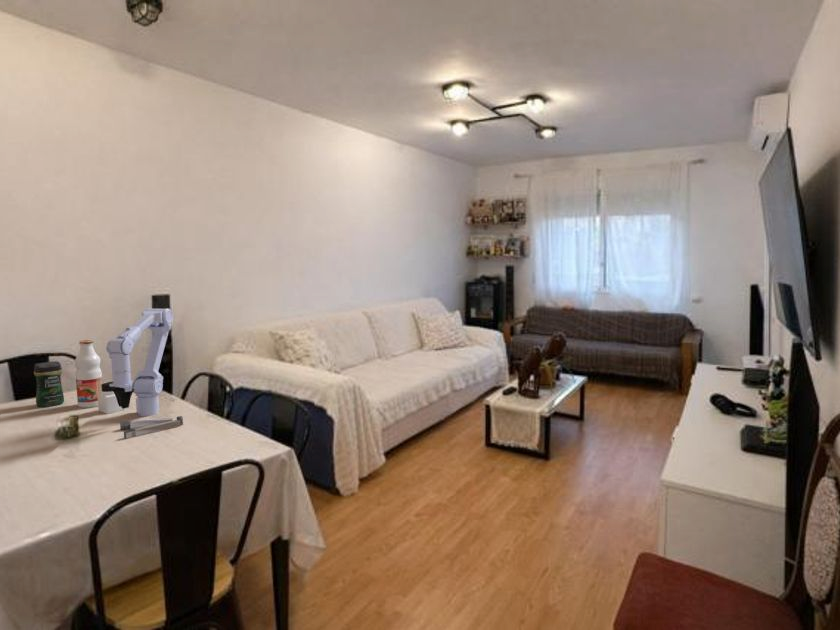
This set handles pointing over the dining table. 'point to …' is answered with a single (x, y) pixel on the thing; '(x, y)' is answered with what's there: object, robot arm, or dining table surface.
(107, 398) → the medicine bottle
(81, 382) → the fruit juice
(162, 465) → the dining table surface
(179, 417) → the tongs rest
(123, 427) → the hinged tong arm
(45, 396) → the coffee jar
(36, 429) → the dining table surface
